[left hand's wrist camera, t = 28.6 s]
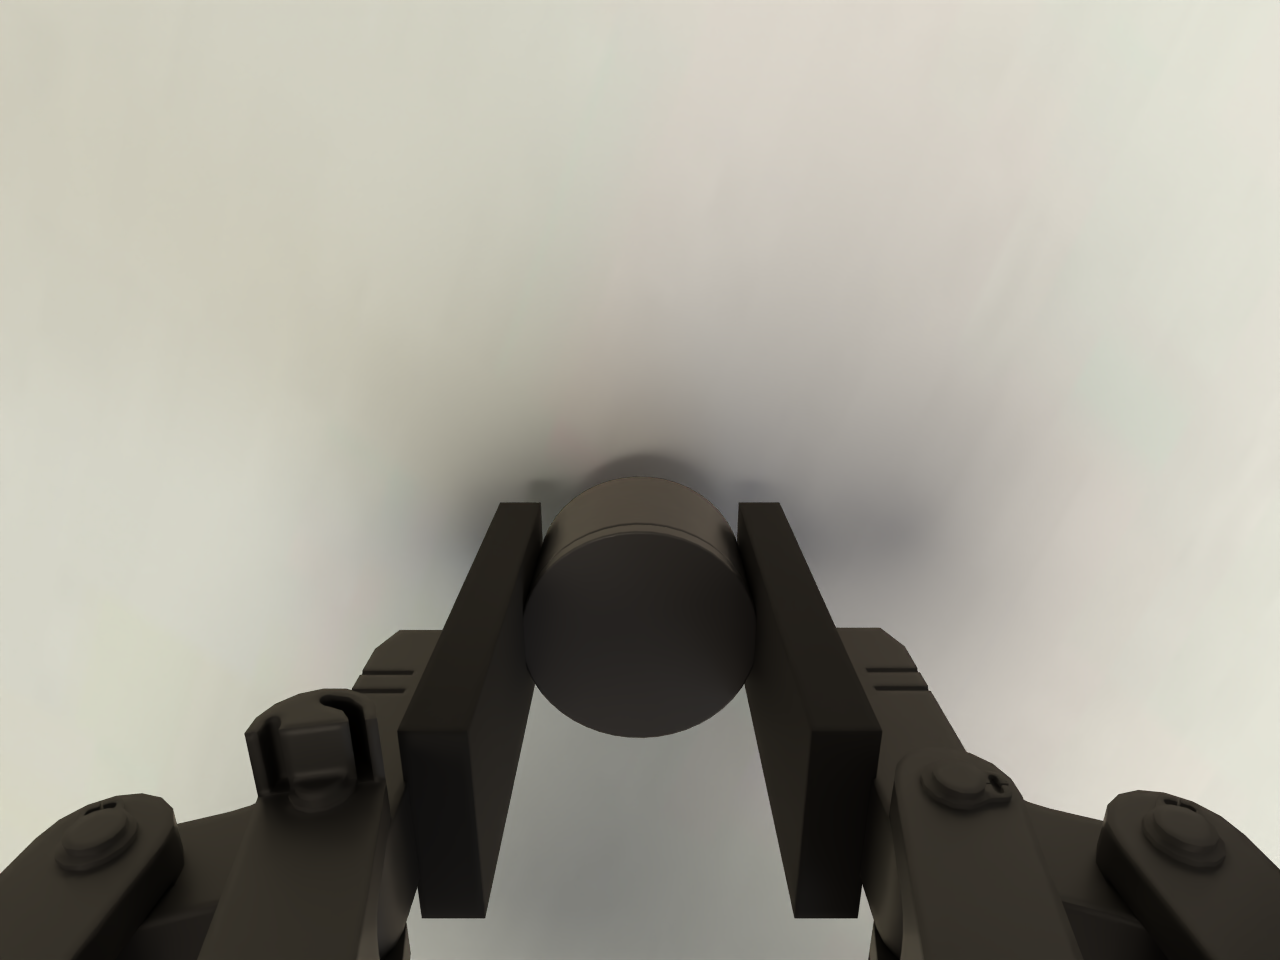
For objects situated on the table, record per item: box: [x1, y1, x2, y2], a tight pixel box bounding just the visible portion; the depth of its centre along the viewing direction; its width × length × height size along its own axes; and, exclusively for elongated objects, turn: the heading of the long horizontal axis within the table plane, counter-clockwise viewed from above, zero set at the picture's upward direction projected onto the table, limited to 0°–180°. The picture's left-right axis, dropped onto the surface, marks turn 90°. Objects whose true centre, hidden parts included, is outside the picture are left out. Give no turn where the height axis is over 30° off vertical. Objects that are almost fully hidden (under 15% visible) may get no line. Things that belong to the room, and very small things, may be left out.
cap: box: [523, 477, 756, 738], centre depth 13 cm, size 4×4×2 cm
